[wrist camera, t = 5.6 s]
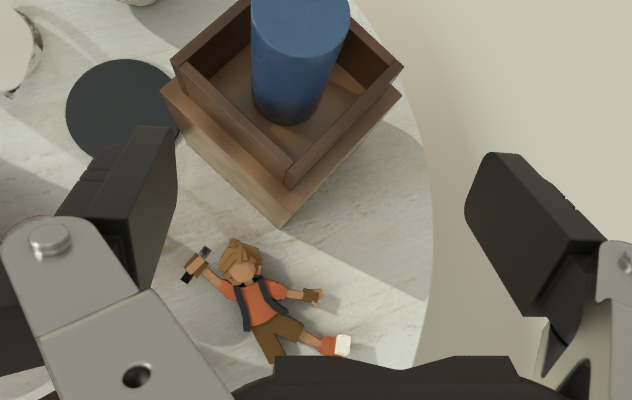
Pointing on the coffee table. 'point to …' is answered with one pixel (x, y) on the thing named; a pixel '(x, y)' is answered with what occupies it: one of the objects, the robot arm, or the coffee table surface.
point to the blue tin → (294, 54)
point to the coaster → (116, 104)
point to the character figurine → (262, 300)
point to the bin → (265, 136)
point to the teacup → (139, 2)
